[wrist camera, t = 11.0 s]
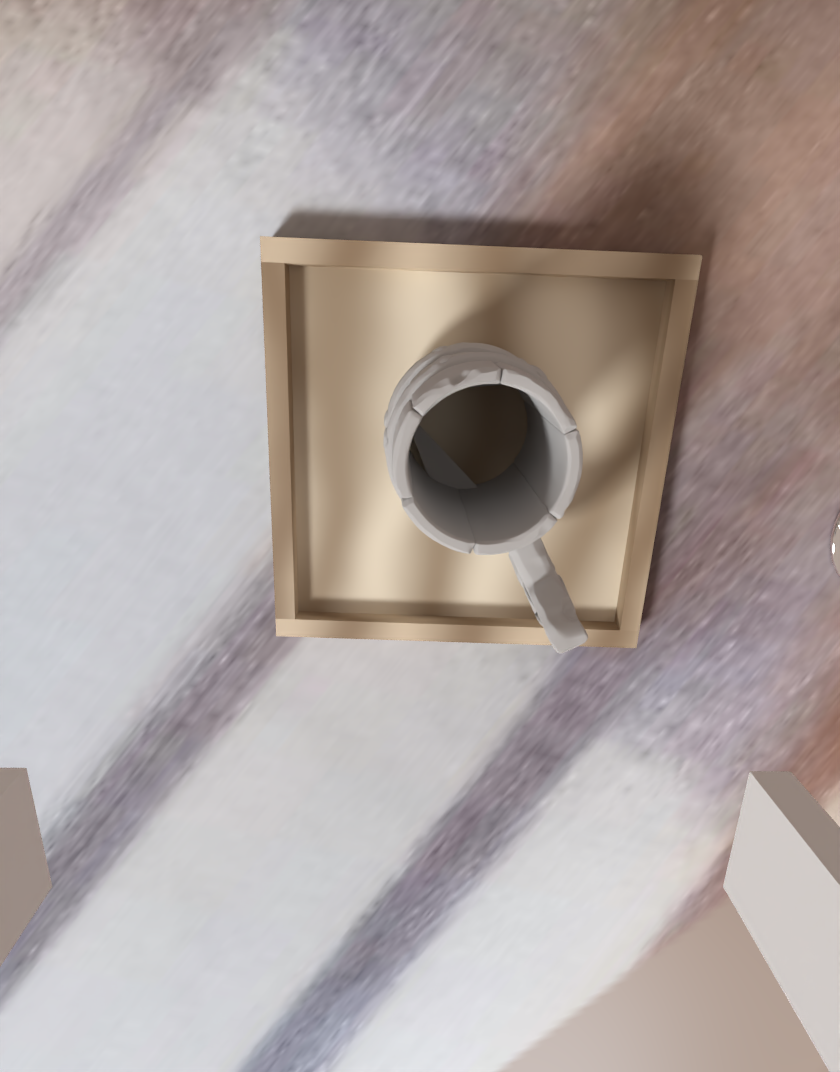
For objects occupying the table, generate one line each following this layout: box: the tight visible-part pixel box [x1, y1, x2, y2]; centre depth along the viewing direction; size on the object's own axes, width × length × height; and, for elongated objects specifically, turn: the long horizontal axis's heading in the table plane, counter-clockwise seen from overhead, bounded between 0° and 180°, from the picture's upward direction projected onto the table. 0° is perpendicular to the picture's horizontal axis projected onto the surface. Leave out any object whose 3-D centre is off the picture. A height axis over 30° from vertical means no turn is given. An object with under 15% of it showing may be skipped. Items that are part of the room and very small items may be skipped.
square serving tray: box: [260, 236, 702, 648], centre depth 30 cm, size 19×19×2 cm
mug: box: [383, 342, 588, 653], centre depth 24 cm, size 8×12×12 cm, turn 27°
